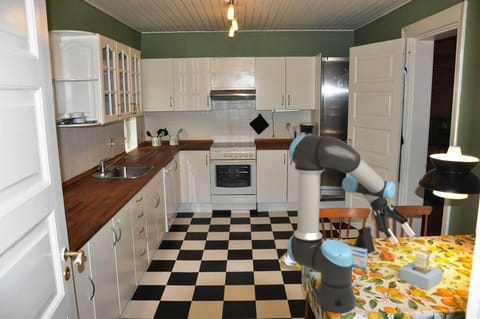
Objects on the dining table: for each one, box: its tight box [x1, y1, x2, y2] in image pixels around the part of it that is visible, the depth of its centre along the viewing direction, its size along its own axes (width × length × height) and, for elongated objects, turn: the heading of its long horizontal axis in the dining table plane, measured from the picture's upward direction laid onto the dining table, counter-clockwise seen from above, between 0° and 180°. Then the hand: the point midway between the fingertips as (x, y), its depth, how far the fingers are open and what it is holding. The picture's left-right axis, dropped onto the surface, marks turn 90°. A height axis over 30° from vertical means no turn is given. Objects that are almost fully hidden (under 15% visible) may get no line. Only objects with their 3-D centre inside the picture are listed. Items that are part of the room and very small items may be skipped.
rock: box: [379, 250, 396, 262], centre depth 174 cm, size 12×12×4 cm
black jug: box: [353, 226, 376, 255], centre depth 184 cm, size 9×6×12 cm, turn 33°
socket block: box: [399, 260, 444, 291], centre depth 153 cm, size 12×12×5 cm
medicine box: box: [349, 245, 368, 270], centre depth 167 cm, size 8×4×9 cm, turn 62°
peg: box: [414, 249, 431, 274], centre depth 152 cm, size 4×4×12 cm
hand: (404, 239), depth 158 cm, fingers open, 13 cm apart
